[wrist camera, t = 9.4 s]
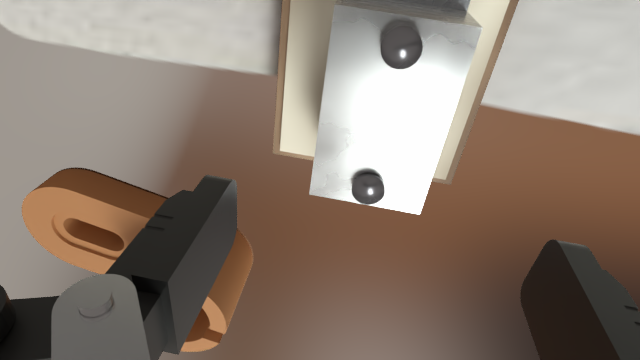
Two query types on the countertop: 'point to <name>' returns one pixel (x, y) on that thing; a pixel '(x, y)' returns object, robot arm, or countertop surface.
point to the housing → (390, 98)
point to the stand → (310, 66)
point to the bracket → (123, 238)
